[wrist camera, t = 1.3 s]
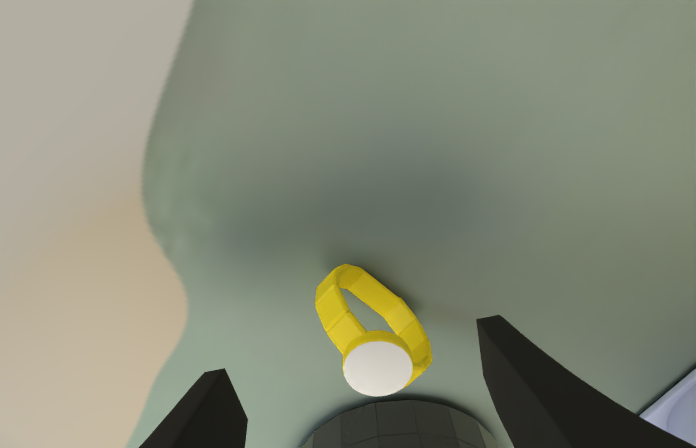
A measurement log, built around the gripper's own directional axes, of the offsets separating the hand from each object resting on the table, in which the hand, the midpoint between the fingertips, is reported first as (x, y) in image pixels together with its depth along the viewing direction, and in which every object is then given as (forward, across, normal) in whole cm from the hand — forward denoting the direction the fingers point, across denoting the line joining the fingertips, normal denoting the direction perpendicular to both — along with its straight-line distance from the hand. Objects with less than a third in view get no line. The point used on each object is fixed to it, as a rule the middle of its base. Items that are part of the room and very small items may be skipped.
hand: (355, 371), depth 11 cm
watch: (+10, 0, +3) cm, 10 cm away
